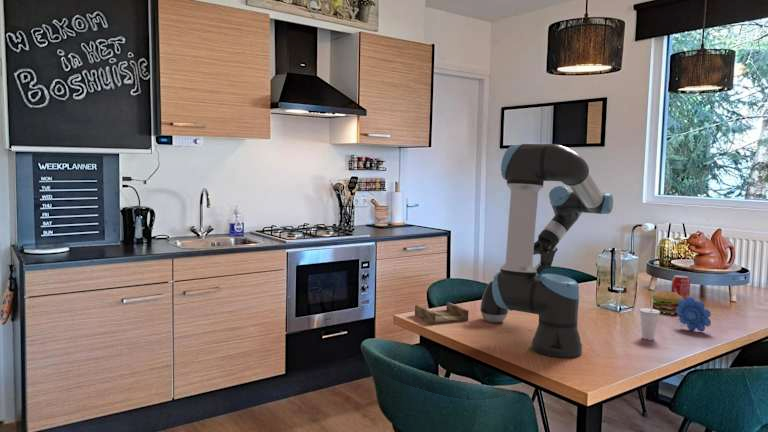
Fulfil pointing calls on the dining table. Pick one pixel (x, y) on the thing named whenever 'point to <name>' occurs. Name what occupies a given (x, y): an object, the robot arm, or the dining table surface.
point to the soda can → (681, 286)
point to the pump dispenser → (491, 307)
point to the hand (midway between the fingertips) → (518, 275)
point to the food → (666, 301)
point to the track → (442, 314)
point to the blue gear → (693, 314)
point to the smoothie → (649, 321)
